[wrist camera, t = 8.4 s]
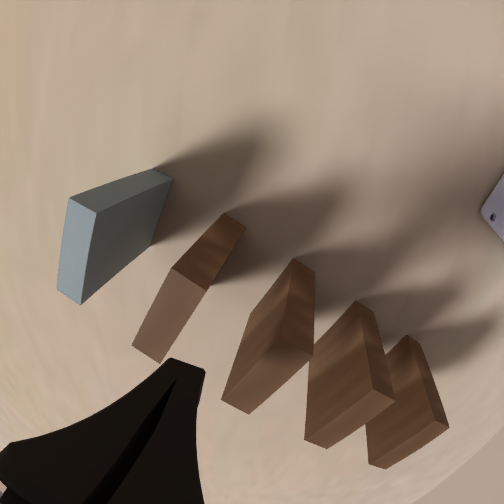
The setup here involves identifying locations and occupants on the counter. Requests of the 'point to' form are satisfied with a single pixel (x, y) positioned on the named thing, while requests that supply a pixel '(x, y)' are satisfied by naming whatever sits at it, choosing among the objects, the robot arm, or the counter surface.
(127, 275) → the counter surface
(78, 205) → the domino
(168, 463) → the robot arm
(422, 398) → the domino
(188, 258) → the domino
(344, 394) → the domino
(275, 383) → the domino
